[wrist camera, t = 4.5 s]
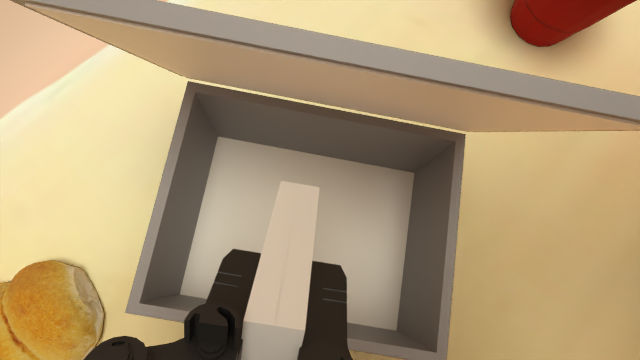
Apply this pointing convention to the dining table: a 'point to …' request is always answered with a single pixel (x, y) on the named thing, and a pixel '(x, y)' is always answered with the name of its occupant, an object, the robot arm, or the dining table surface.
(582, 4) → the plastic cup
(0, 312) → the bread roll
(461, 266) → the dining table surface
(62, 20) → the box lid
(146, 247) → the box
